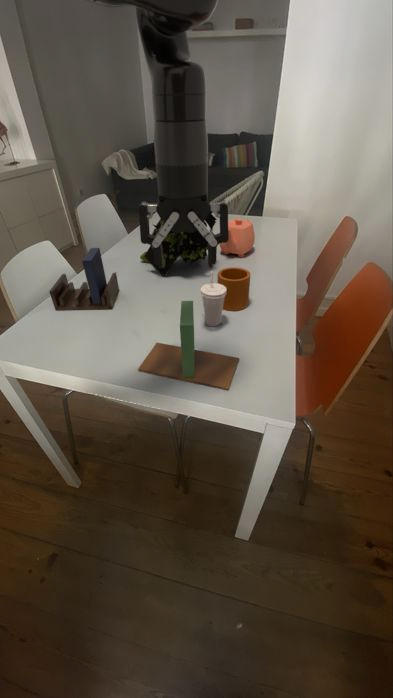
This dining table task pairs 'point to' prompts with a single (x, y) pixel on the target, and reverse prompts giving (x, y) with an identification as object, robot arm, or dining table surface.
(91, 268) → the navy book
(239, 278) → the mug
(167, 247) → the potted plant
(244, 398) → the dining table surface
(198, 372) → the brown wooden board
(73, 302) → the book rack
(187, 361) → the green book
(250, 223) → the teapot
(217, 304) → the smoothie
